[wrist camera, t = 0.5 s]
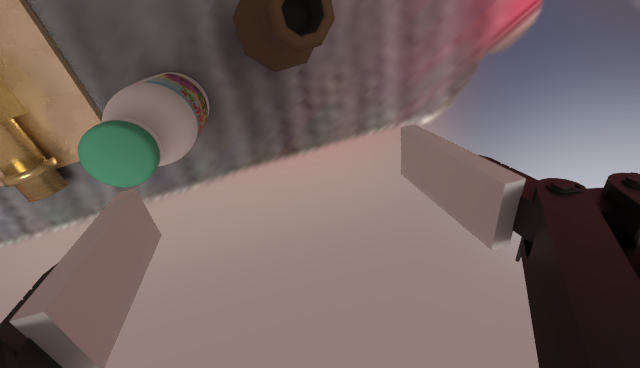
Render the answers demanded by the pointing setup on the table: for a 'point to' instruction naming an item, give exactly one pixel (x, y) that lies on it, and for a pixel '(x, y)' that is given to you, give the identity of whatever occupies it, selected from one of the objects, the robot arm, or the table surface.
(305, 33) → the beer bottle
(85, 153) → the milk bottle
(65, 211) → the table surface
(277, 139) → the table surface
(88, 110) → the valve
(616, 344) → the robot arm
